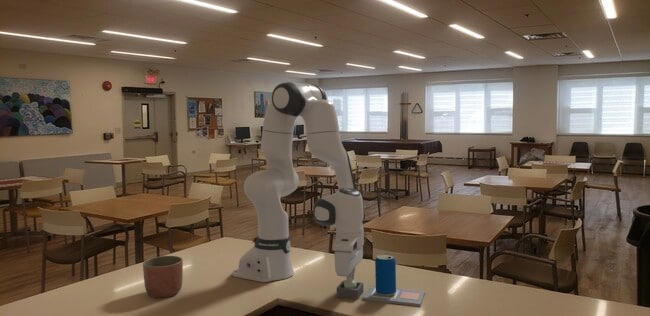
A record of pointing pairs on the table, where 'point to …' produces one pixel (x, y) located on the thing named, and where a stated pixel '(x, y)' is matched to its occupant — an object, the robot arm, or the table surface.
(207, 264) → the table surface
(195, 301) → the table surface
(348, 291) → the button housing
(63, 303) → the table surface
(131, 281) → the table surface
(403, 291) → the picture board
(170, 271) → the planter
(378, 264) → the beverage can
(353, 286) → the button
